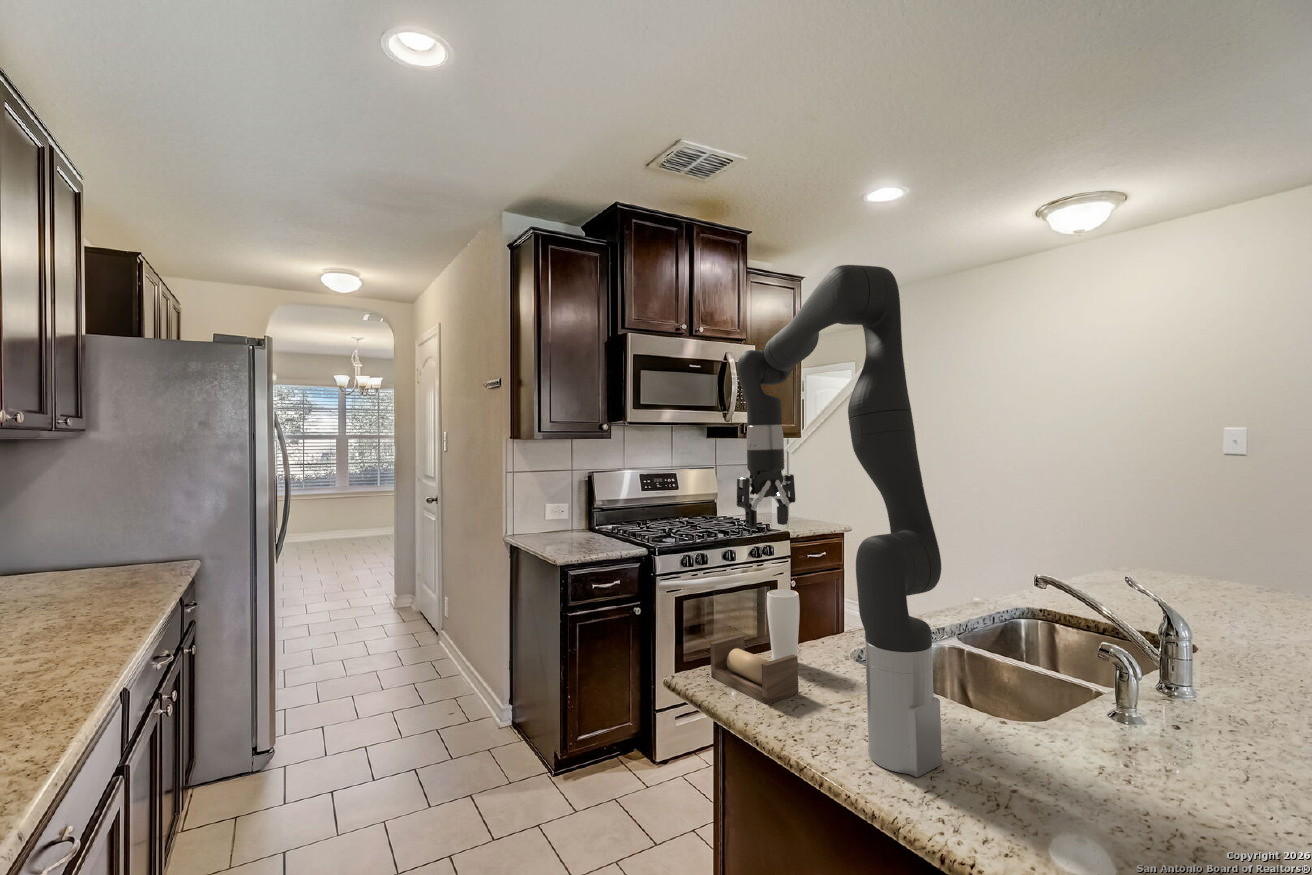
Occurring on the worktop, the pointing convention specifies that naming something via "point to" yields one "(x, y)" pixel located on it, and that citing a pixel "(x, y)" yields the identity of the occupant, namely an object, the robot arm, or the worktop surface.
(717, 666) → the holder
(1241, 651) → the worktop surface
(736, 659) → the roll
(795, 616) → the drinking glass
